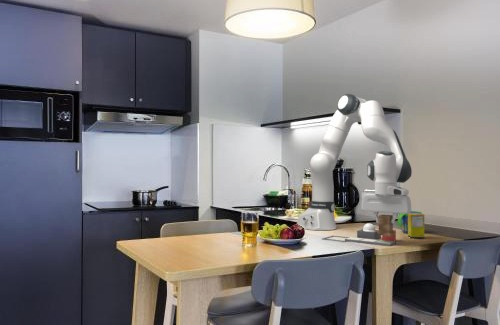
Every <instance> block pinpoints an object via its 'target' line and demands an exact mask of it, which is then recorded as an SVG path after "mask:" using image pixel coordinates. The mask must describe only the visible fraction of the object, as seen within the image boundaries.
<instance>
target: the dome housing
mask: <svg viewBox="0 0 500 325" xmlns="http://www.w3.org/2000/svg"><path fill="white" fill-rule="evenodd" d="M377 232H379V229H375V232H368V231H363V228H362V229H359V230H357V231H356V238H366V239H375V240H381V239H382V235H377Z"/></svg>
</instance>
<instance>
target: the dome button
mask: <svg viewBox="0 0 500 325" xmlns="http://www.w3.org/2000/svg"><path fill="white" fill-rule="evenodd" d="M362 229H363V231H368V232H375V230H376V228H375V225H374V224H372V223H371V222H369V223H366V224H364V225H363V228H362Z"/></svg>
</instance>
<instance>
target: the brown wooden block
mask: <svg viewBox="0 0 500 325" xmlns="http://www.w3.org/2000/svg"><path fill="white" fill-rule="evenodd" d="M378 217H379V223H378V230H379V232H377V235H381V236H382V235H385V236H391V235H394V231H393V230H394V224H390V220H391V219H393V217H394V216H393V214H380V215H379V214H378Z"/></svg>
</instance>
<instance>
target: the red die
mask: <svg viewBox="0 0 500 325" xmlns="http://www.w3.org/2000/svg"><path fill="white" fill-rule="evenodd" d="M393 231H394V235H391V236H385V235H381V240H385V241H395V240H396V241H397V231H396V229H393ZM396 241H395V242H396Z"/></svg>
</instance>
